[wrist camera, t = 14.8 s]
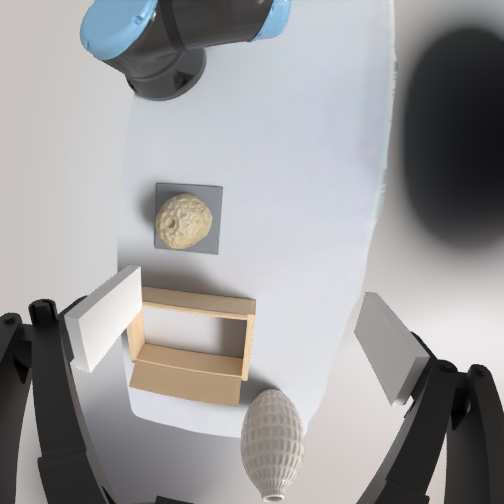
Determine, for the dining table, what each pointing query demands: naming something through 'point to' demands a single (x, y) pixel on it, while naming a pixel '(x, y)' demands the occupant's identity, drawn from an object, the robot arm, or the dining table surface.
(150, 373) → the carton
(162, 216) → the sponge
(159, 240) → the mat
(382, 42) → the dining table surface
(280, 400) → the vase
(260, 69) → the dining table surface
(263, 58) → the dining table surface
